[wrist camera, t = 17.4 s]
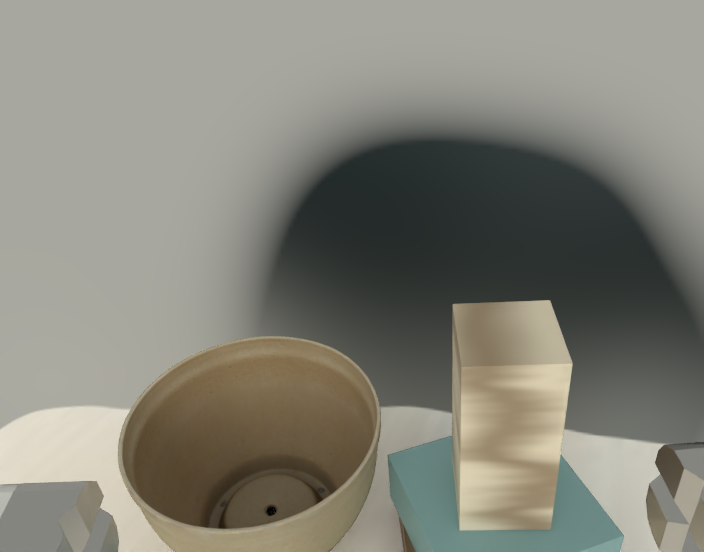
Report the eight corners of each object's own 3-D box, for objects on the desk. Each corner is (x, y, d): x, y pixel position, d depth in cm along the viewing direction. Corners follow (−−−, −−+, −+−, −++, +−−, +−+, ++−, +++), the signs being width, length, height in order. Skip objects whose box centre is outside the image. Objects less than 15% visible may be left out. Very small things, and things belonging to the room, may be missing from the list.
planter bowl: (153, 669, 39) (101, 560, 33) (165, 462, 52) (130, 358, 46) (414, 608, 41) (410, 494, 35) (362, 423, 54) (352, 318, 48)
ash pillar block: (533, 459, 40) (550, 300, 34) (550, 529, 36) (572, 363, 30) (452, 460, 41) (452, 303, 34) (459, 530, 37) (461, 366, 30)
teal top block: (524, 453, 46) (528, 412, 44) (613, 578, 38) (623, 535, 36) (390, 496, 44) (387, 455, 42) (454, 638, 36) (455, 596, 34)
